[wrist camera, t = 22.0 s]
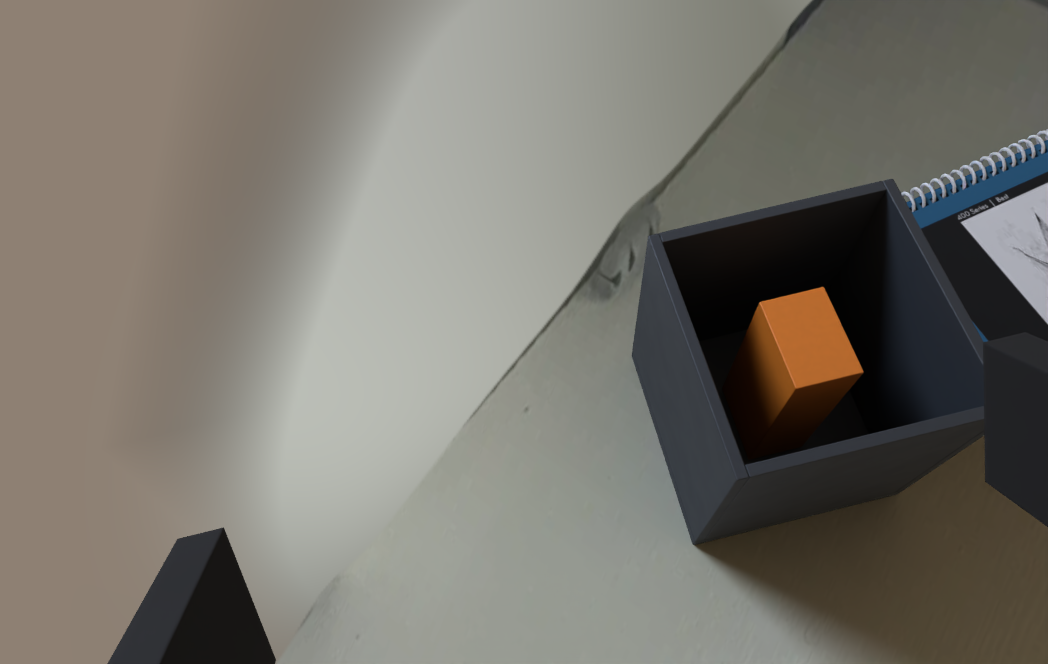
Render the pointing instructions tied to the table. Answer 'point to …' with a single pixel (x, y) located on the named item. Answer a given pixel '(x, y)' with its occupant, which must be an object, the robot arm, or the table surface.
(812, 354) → the block
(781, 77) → the table surface
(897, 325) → the bin
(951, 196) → the sketchbook
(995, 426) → the robot arm
